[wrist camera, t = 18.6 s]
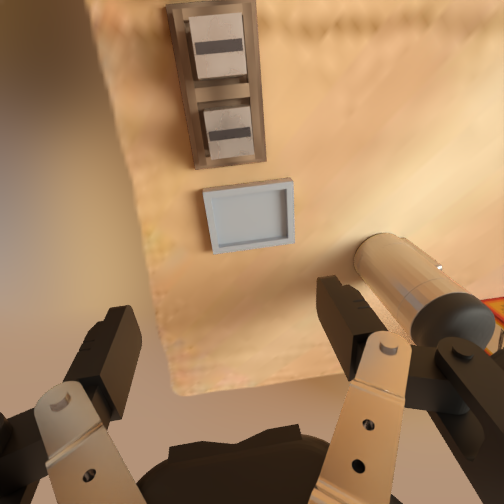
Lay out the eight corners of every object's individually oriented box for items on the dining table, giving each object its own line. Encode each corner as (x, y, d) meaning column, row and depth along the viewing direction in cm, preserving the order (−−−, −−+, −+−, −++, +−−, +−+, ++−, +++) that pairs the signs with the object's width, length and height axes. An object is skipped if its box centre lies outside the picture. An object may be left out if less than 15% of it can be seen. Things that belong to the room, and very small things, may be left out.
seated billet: (236, 26, 34) (241, 12, 28) (240, 76, 37) (247, 73, 31) (192, 30, 34) (188, 16, 28) (200, 80, 36) (198, 78, 30)
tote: (290, 177, 45) (293, 181, 43) (291, 237, 49) (294, 243, 48) (202, 188, 44) (202, 192, 42) (213, 248, 48) (213, 254, 47)
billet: (243, 104, 38) (250, 106, 32) (247, 144, 41) (254, 154, 34) (204, 108, 38) (203, 111, 32) (211, 149, 40) (211, 160, 34)
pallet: (254, -1, 34) (257, -8, 32) (265, 159, 43) (268, 163, 41) (166, 6, 34) (163, 0, 31) (195, 168, 42) (194, 172, 40)
